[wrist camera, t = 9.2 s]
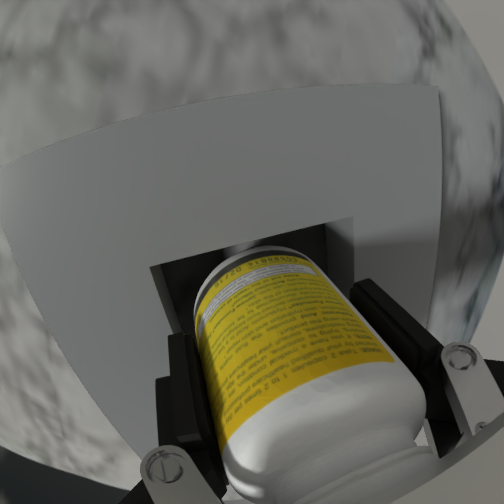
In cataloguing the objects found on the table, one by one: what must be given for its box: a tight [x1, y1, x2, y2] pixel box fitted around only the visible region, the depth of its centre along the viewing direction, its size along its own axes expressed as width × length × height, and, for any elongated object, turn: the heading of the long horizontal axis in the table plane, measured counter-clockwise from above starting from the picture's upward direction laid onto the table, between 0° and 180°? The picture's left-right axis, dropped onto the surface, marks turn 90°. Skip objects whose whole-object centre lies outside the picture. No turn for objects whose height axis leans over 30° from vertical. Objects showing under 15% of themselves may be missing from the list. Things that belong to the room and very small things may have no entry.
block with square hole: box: [0, 84, 442, 460], centre depth 13 cm, size 16×16×3 cm
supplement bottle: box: [194, 246, 439, 504], centre depth 8 cm, size 5×5×10 cm
